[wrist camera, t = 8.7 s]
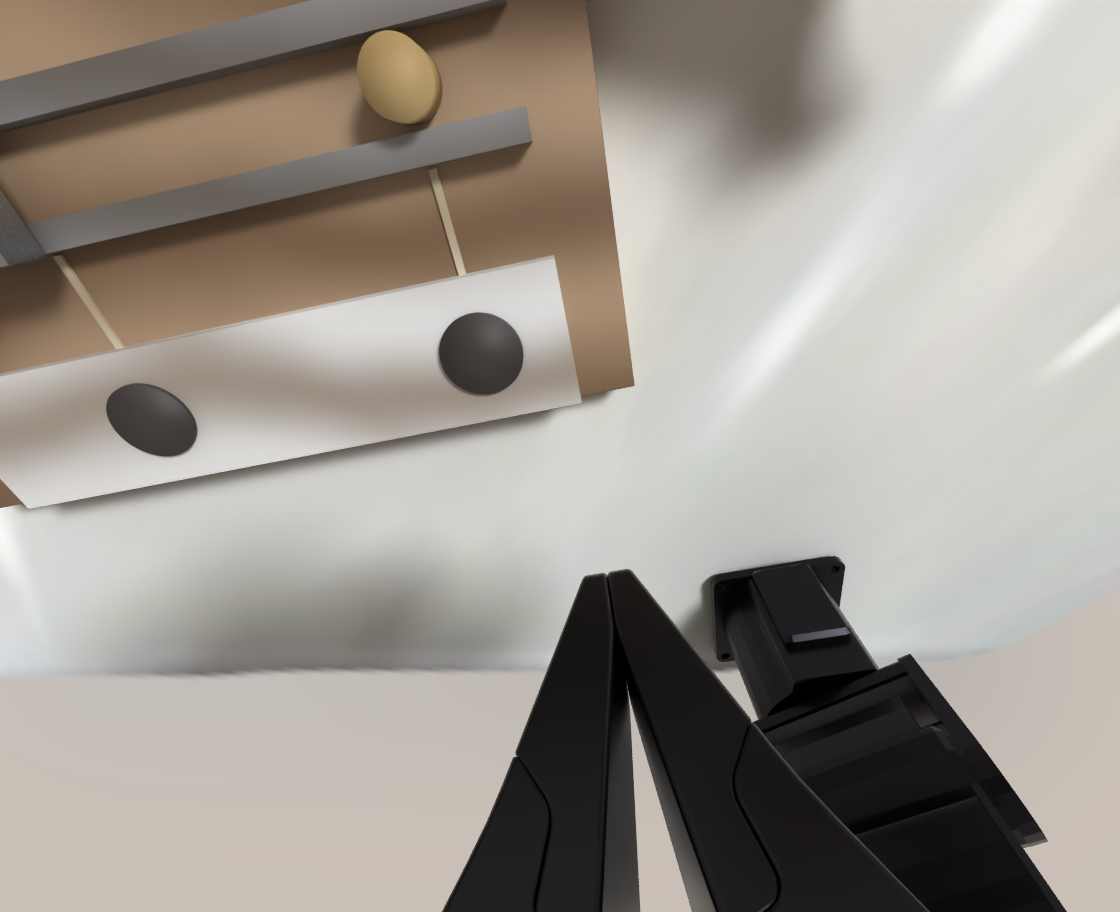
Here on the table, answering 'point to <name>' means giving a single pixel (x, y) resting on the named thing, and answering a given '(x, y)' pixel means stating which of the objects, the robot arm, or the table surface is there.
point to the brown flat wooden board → (294, 231)
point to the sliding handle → (15, 238)
